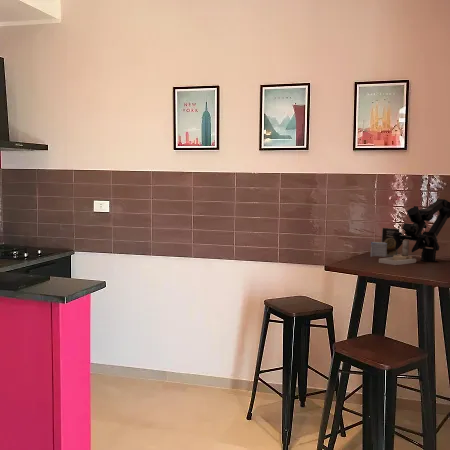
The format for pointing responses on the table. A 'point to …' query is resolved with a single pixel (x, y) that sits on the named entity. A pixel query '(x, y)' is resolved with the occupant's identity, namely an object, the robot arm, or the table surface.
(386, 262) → the shelf lane
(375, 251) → the medicine box
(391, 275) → the table surface
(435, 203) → the robot arm
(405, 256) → the handle block
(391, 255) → the coffee box
